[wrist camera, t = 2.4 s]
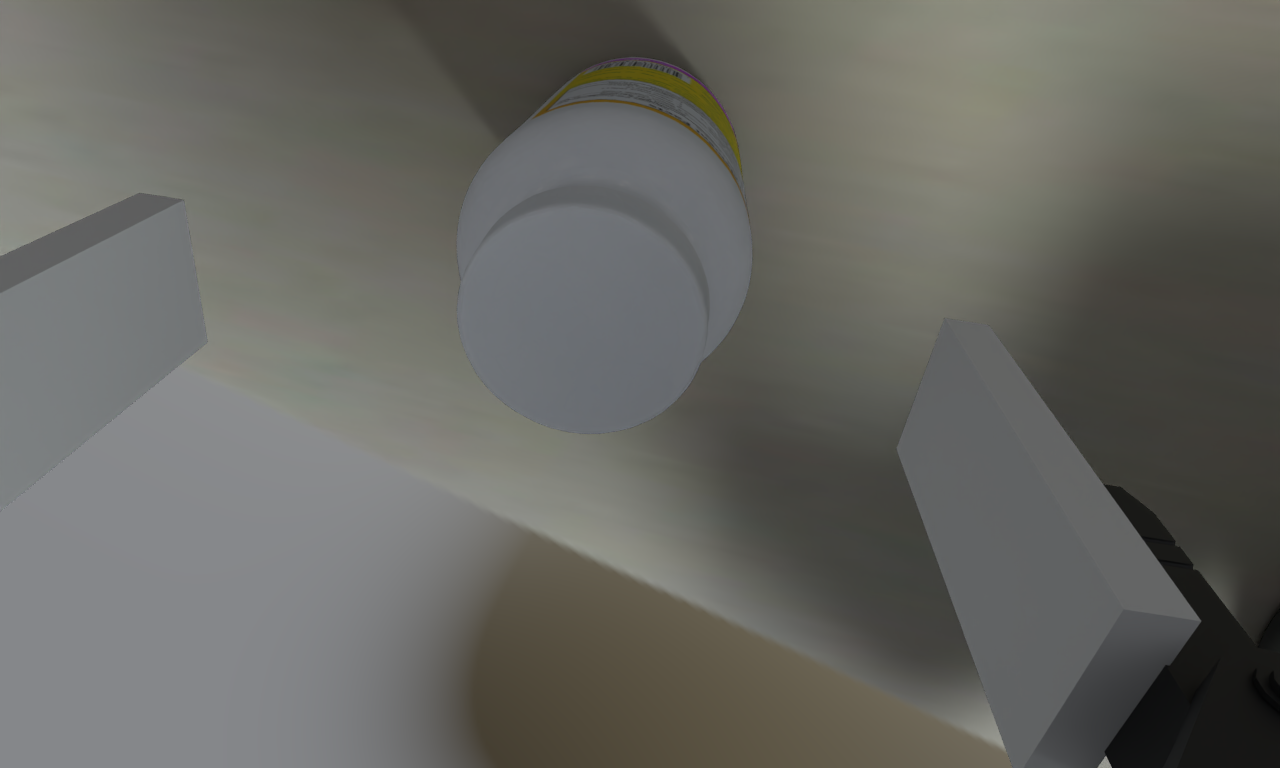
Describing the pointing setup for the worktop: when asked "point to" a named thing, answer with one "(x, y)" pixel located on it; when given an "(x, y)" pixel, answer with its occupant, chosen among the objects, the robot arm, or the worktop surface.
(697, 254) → the supplement bottle
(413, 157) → the worktop surface
